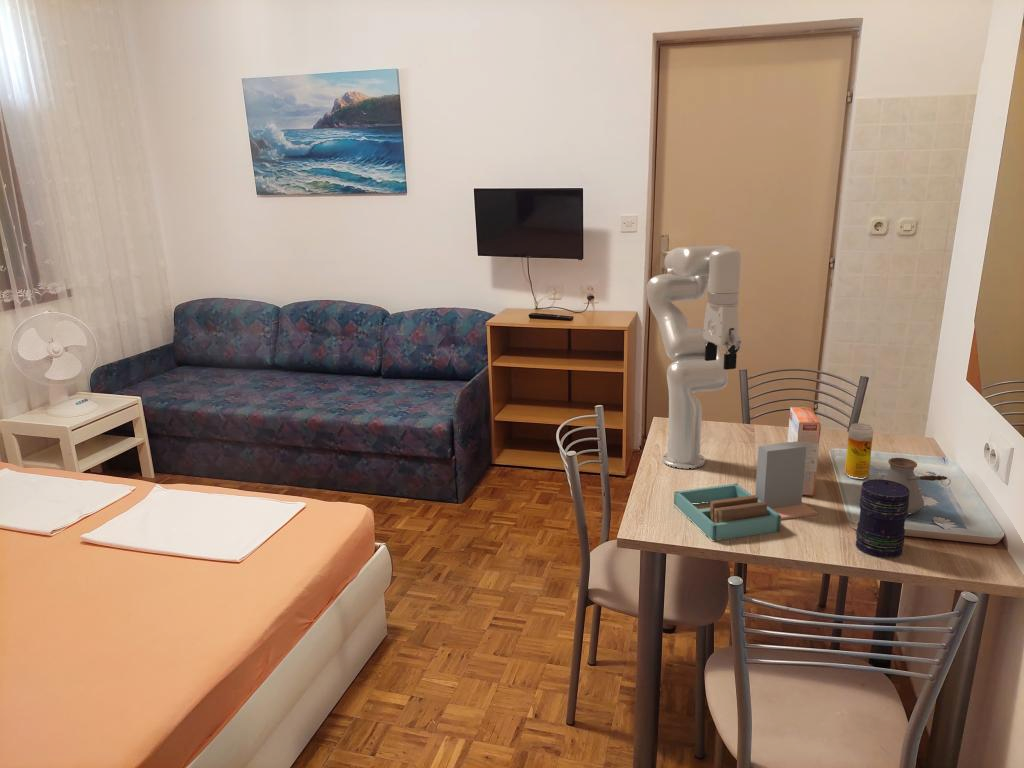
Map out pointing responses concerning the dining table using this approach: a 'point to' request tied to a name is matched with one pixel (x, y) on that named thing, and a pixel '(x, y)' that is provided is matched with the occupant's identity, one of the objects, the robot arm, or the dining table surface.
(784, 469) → the grey block
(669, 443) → the robot arm
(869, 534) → the dark-blue ribbed cylinder
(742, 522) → the rack
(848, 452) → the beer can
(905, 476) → the coffee pot
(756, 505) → the offcut slab
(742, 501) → the offcut slab
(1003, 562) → the dining table surface
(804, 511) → the mat
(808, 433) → the cracker box
